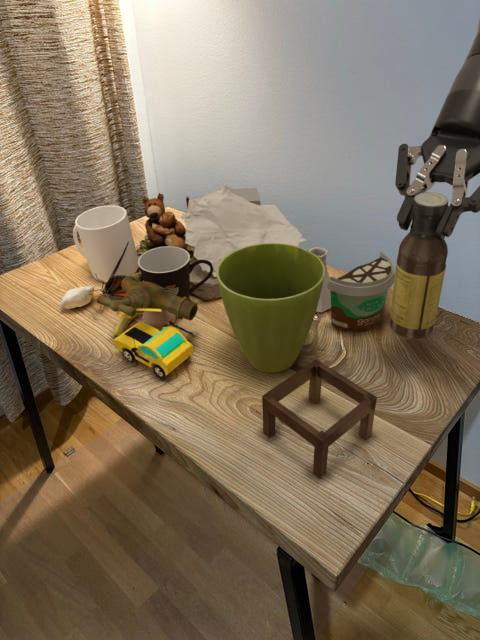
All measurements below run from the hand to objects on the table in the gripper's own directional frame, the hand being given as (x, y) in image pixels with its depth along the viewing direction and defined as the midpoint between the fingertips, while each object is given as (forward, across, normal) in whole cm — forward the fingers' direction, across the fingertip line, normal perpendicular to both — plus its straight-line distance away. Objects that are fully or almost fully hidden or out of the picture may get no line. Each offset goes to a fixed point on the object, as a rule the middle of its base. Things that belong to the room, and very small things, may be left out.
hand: (420, 232), depth 66 cm
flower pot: (+22, -17, +10) cm, 30 cm away
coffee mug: (+22, -37, +11) cm, 44 cm away
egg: (+21, -37, +8) cm, 43 cm away
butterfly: (+24, -51, +4) cm, 57 cm away
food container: (+11, -9, +22) cm, 26 cm away
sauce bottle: (+10, 0, +13) cm, 16 cm away
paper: (-5, -42, +16) cm, 46 cm away
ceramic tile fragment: (+18, -39, +11) cm, 44 cm away
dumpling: (+28, -53, +4) cm, 60 cm away
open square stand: (+28, -3, +4) cm, 29 cm away
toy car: (+30, -32, +2) cm, 43 cm away
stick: (+23, -31, +4) cm, 39 cm away
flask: (+11, -19, +22) cm, 31 cm away
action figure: (+19, -36, +5) cm, 41 cm away
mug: (+20, -58, +12) cm, 62 cm away
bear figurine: (+13, -52, +19) cm, 57 cm away
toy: (+4, -39, +22) cm, 44 cm away
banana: (+27, -43, +4) cm, 51 cm away
